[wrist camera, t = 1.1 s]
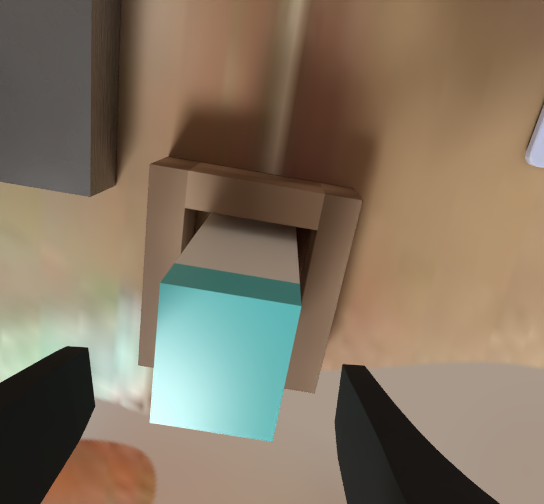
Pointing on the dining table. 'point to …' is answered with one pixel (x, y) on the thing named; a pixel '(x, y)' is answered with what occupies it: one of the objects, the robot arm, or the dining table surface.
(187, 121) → the dining table surface
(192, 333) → the plug
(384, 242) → the dining table surface
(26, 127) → the port
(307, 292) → the frame
